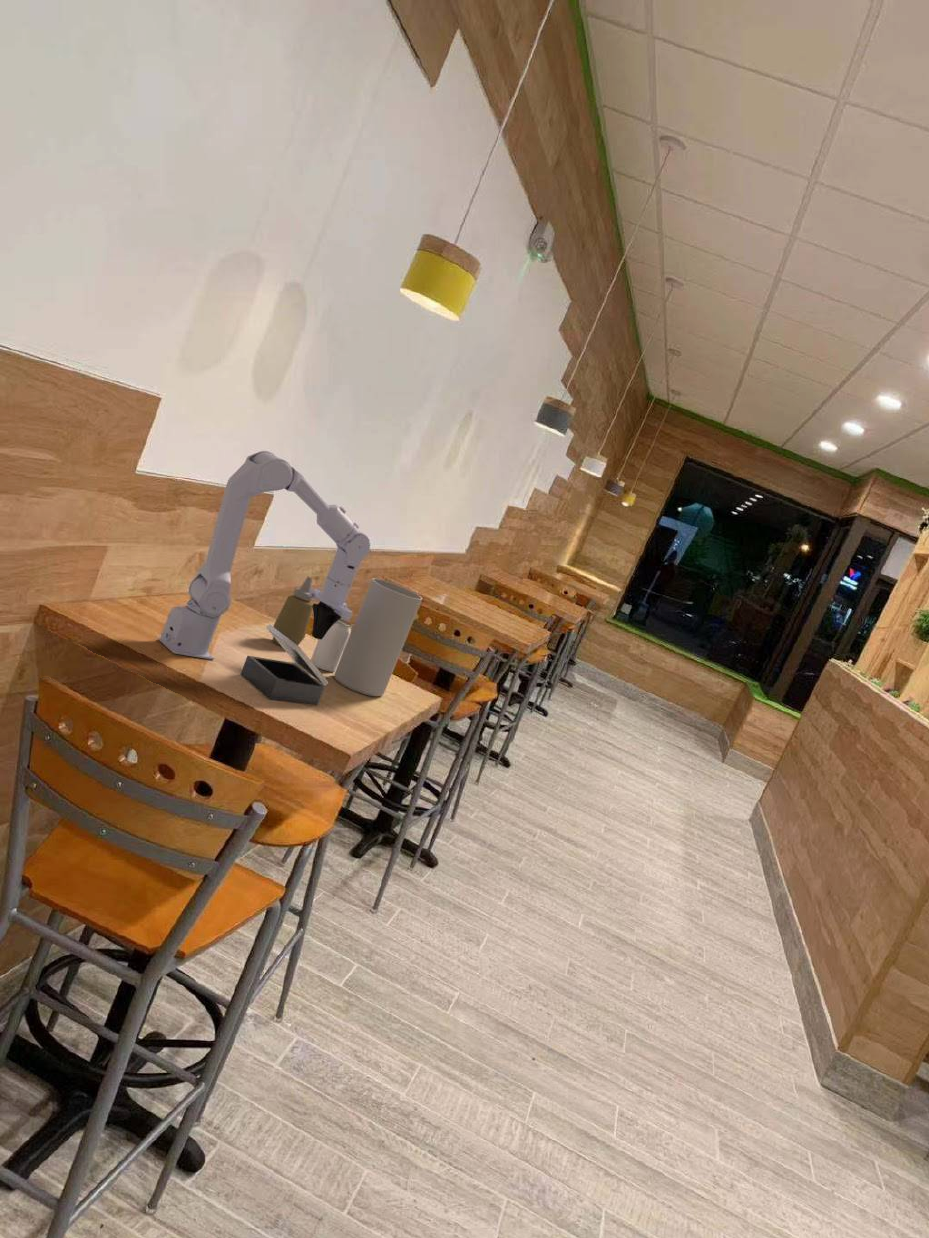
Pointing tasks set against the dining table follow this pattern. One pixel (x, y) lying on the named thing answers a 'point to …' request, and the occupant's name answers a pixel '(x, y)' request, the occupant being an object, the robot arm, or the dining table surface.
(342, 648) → the can
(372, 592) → the cylinder vase
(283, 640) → the lid
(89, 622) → the dining table surface
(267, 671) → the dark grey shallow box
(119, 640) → the dining table surface
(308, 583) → the squeeze bottle
